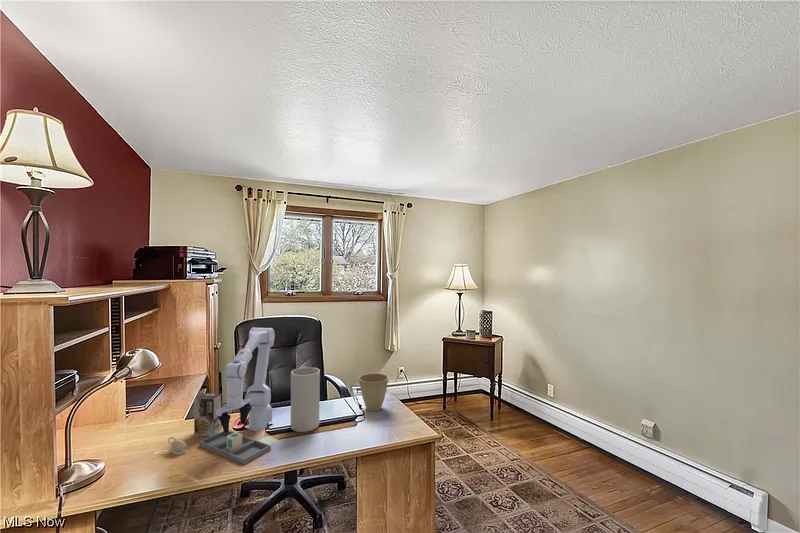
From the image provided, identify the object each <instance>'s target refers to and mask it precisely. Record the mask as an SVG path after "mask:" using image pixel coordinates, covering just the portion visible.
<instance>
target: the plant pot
mask: <svg viewBox="0 0 800 533" xmlns="http://www.w3.org/2000/svg"><path fill="white" fill-rule="evenodd" d="M358 382H359V387H360V393H361V396H362V397H361V398H362V401H363V403H364V406H365V408H366V410H367V411H368V412H369V411H370V412H379V411H380V410H381V409H382V407H383V403H384V401H385V397H386V394H387V390H388V382H389V376H388V375H387V374H385V373H378V372H375V373H374V372H373V373H366V374H362V375H360V376H359V377H358Z"/></svg>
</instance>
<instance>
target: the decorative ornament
mask: <svg viewBox="0 0 800 533" xmlns="http://www.w3.org/2000/svg"><path fill="white" fill-rule="evenodd" d="M170 439H172V440H173V442H171V441H170ZM167 442H168V443H169V444H170V445H171V453H172V454H174V455H176V456H180V455H185V454H188V453H189V449H188V446H187V444H186V443H185V442H184V441H183V440H182V439H177V438H176V437H173V436H171V437H170V436H169V437H168V439H167Z"/></svg>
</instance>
